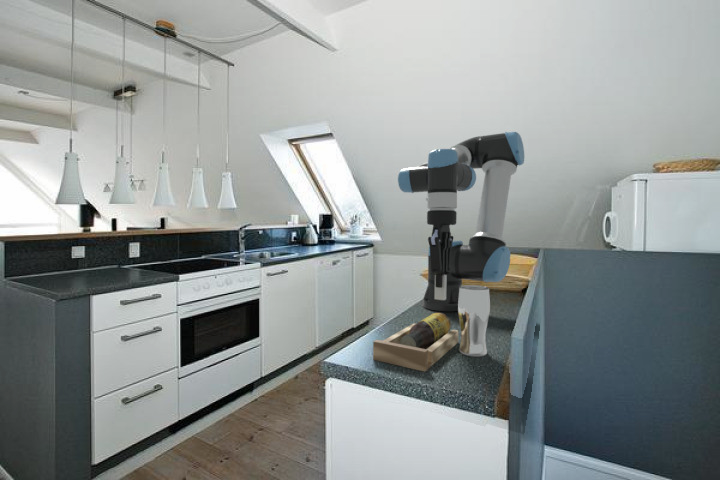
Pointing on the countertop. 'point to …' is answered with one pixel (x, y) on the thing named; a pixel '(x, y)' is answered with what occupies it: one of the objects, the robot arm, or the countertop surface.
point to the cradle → (412, 350)
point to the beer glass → (473, 319)
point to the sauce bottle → (427, 331)
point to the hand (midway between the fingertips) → (440, 299)
